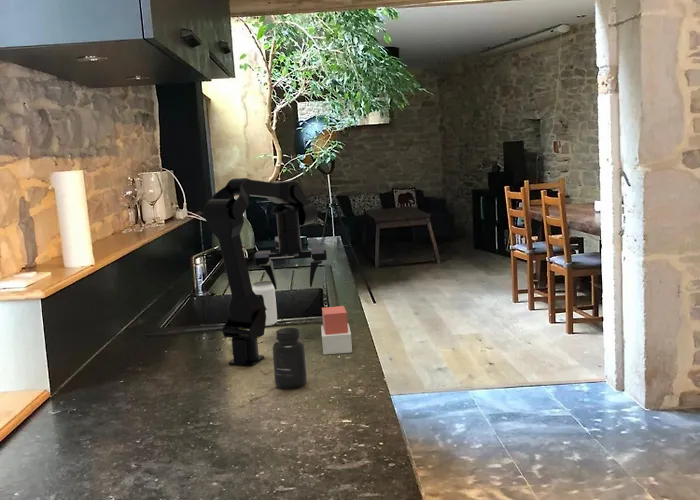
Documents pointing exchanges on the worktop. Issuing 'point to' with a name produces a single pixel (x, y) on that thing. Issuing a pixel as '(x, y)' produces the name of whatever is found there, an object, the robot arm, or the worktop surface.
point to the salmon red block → (334, 320)
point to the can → (267, 300)
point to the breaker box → (336, 342)
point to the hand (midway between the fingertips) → (293, 287)
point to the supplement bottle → (289, 359)
